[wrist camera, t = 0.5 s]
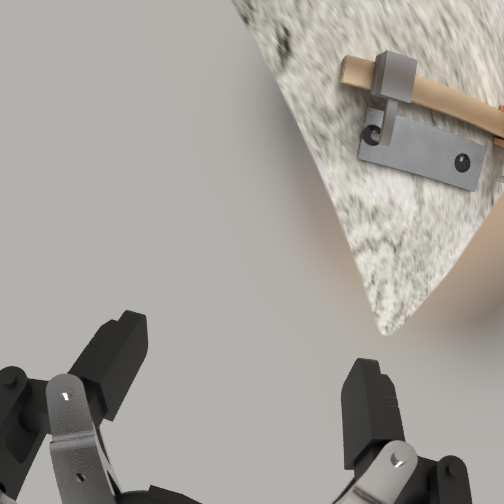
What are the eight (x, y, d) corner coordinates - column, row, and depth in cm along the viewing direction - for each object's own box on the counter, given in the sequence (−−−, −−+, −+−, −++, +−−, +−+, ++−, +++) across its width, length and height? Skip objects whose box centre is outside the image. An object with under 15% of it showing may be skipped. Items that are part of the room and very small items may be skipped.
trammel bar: (344, 52, 29) (355, 41, 23) (514, 116, 28) (547, 124, 21) (331, 128, 33) (340, 135, 27) (500, 180, 32) (529, 197, 26)
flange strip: (365, 106, 31) (367, 106, 31) (482, 145, 31) (486, 147, 30) (355, 157, 34) (357, 158, 33) (471, 189, 33) (474, 192, 32)
